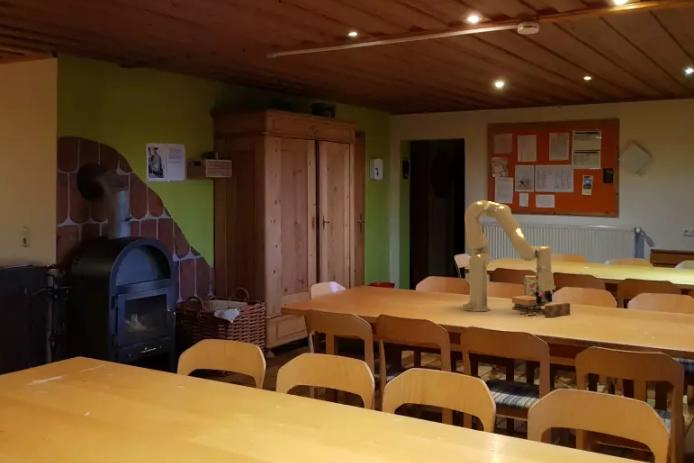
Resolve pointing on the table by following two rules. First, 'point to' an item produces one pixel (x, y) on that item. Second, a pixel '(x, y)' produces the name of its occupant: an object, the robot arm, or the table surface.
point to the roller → (545, 301)
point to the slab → (524, 300)
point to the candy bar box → (531, 287)
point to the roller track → (529, 308)
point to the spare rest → (528, 313)
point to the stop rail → (557, 310)
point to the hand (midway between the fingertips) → (544, 302)
